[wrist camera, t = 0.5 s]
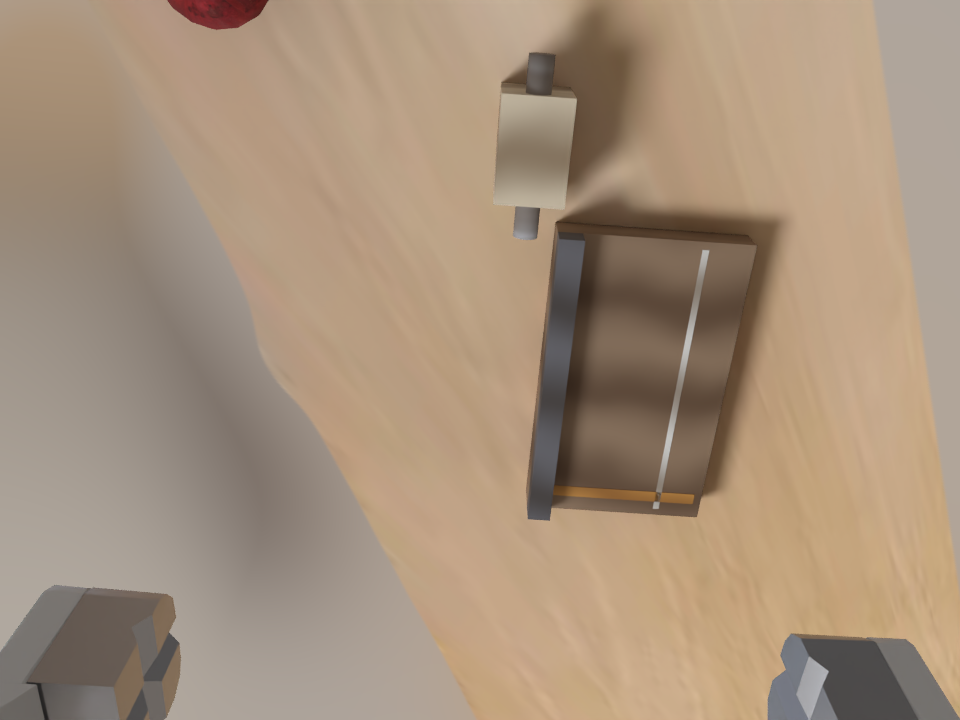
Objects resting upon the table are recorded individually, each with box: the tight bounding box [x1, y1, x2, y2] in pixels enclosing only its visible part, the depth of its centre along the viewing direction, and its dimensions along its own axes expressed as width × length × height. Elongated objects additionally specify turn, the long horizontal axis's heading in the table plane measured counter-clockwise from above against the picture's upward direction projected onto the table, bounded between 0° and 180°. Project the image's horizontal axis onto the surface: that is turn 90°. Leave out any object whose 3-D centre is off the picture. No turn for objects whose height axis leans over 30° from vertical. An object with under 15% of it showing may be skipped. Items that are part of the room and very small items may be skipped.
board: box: [526, 222, 757, 521], centre depth 54 cm, size 20×12×4 cm, turn 176°
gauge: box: [493, 53, 577, 240], centre depth 47 cm, size 10×4×4 cm, turn 176°
